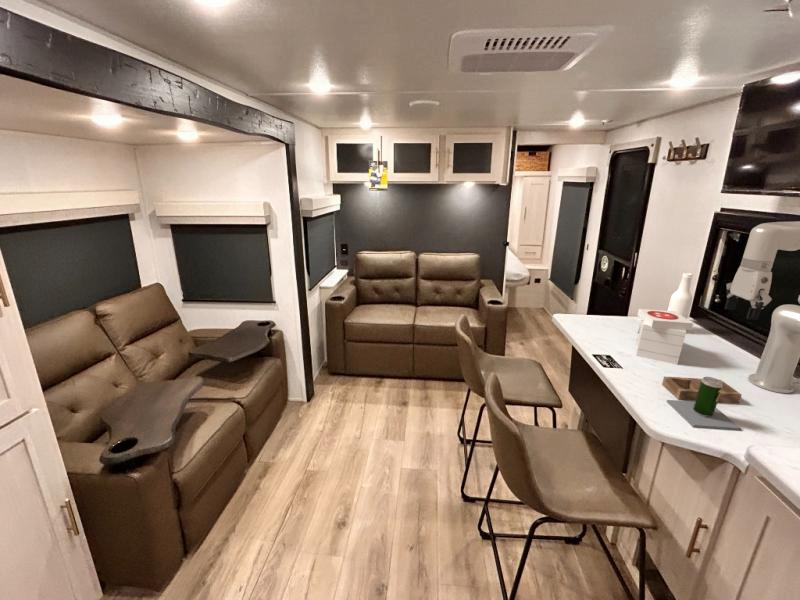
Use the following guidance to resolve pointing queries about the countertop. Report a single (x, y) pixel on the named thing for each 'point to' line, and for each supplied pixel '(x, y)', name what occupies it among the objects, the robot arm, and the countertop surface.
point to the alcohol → (682, 297)
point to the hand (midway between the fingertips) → (740, 314)
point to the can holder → (692, 384)
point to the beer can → (707, 396)
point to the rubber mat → (695, 420)
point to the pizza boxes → (661, 335)
